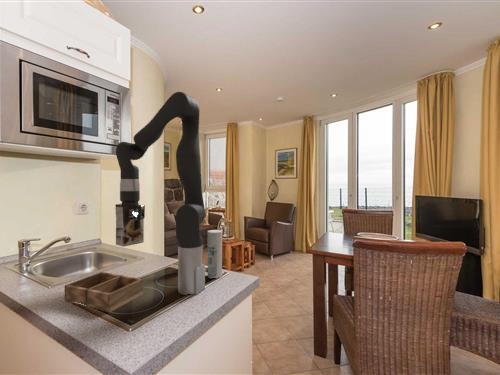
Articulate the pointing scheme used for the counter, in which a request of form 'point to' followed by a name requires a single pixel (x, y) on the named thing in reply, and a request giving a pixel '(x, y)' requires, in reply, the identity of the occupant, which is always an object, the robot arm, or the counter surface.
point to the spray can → (214, 253)
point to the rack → (104, 291)
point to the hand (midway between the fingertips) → (130, 228)
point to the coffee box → (128, 227)
